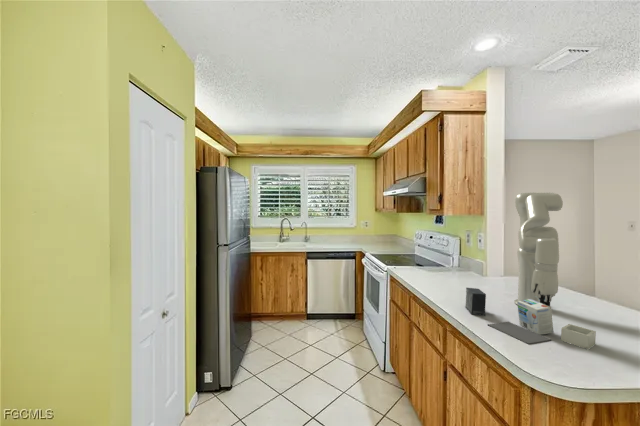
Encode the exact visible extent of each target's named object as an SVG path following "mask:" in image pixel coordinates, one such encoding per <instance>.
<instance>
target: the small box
mask: <svg viewBox="0 0 640 426" xmlns="http://www.w3.org/2000/svg"><path fill="white" fill-rule="evenodd" d="M486 299H487V294H486V293H485V292H484V291H482V290H481V289H480V288H476V287H465V306H464V307H465V309H466V310H467V311H468V312H469V314H470V315H475V316H476V315H477V316H486V302H487V301H486Z"/></svg>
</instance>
